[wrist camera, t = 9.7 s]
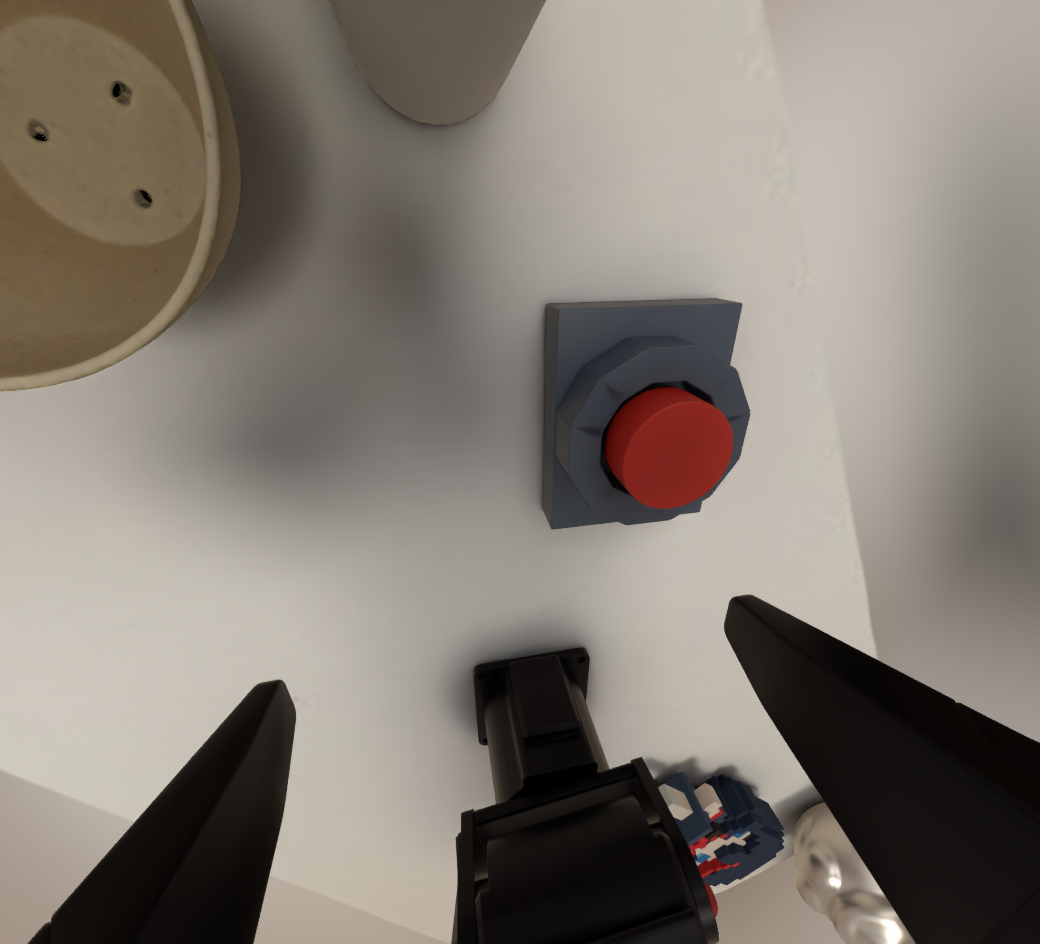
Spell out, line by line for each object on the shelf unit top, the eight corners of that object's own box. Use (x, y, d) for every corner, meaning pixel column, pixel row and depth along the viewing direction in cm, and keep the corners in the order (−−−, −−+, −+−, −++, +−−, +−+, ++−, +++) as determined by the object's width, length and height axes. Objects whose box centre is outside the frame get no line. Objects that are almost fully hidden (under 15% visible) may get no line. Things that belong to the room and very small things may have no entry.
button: (695, 481, 18) (721, 503, 16) (600, 491, 17) (617, 515, 16) (714, 383, 16) (745, 397, 15) (608, 390, 15) (629, 405, 14)
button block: (681, 494, 22) (723, 534, 19) (542, 509, 21) (563, 555, 18) (716, 298, 18) (777, 309, 15) (545, 303, 17) (573, 316, 14)
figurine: (713, 801, 28) (812, 849, 34) (679, 735, 31) (774, 790, 38) (609, 874, 30) (722, 906, 36) (588, 804, 33) (694, 844, 40)
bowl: (151, 390, 15) (-33, 489, 9) (-238, 64, 11) (-1165, -190, 4) (378, 206, 14) (345, 176, 8) (55, -246, 10) (-623, -1155, 3)
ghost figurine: (828, 767, 38) (951, 925, 29) (873, 792, 42) (993, 937, 33) (746, 826, 40) (838, 991, 31) (797, 844, 44) (891, 994, 35)
